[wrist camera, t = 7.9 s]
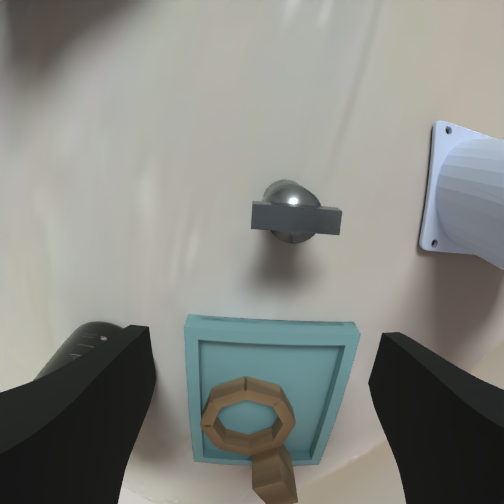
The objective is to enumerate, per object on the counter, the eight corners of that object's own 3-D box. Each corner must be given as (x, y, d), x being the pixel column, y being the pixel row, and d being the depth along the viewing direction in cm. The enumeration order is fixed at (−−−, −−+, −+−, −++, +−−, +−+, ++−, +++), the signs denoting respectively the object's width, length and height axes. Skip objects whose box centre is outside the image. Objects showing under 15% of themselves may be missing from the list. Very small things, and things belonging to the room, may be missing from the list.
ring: (190, 394, 20) (177, 442, 15) (270, 365, 20) (275, 413, 15) (245, 469, 22) (245, 514, 17) (314, 447, 21) (325, 493, 17)
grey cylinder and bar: (319, 182, 17) (344, 193, 12) (315, 225, 18) (336, 251, 13) (253, 177, 17) (253, 186, 12) (250, 221, 18) (250, 246, 13)
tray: (353, 322, 19) (360, 334, 18) (316, 451, 23) (318, 464, 22) (188, 314, 19) (184, 326, 18) (196, 448, 23) (194, 461, 22)
